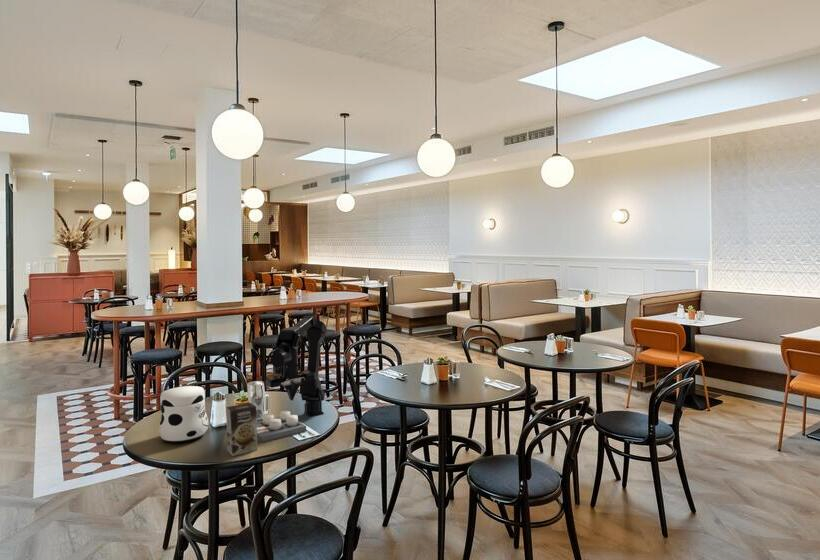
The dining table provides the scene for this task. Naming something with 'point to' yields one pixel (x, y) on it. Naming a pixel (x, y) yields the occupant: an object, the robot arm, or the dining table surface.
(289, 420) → the button
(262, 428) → the puzzle board
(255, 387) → the beer glass
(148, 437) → the dining table surface
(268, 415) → the button
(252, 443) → the coffee box
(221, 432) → the dining table surface
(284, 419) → the button
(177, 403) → the milk container
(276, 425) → the button
